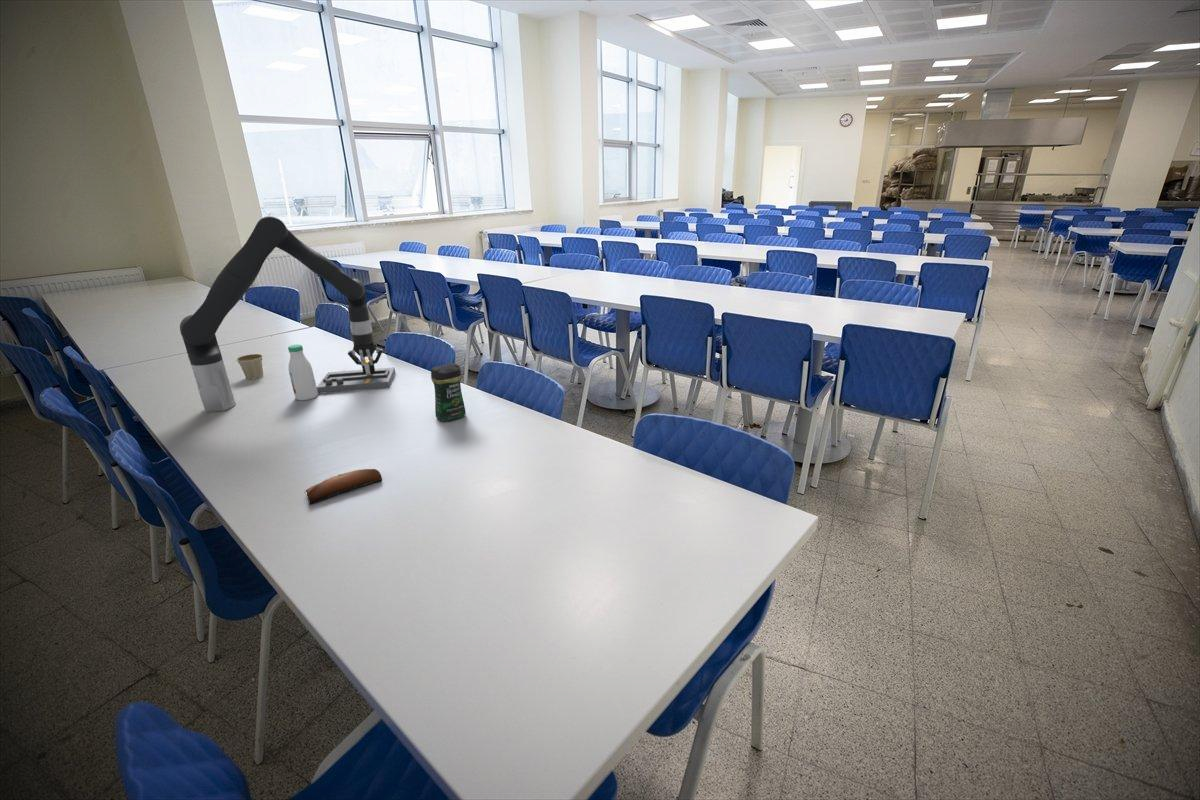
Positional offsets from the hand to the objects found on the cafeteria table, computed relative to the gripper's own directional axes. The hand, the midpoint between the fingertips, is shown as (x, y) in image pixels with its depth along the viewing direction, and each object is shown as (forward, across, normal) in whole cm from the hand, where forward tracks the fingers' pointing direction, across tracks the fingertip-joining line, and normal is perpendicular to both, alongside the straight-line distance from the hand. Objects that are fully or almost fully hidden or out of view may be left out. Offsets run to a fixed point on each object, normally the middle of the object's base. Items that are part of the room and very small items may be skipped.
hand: (369, 373), depth 214 cm
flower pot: (+4, -49, +18) cm, 52 cm away
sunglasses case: (+4, +7, -84) cm, 85 cm away
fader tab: (+1, 0, 0) cm, 1 cm away
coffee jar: (+4, +33, -44) cm, 55 cm away
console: (+4, -5, 0) cm, 6 cm away
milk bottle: (+4, -21, -12) cm, 24 cm away
